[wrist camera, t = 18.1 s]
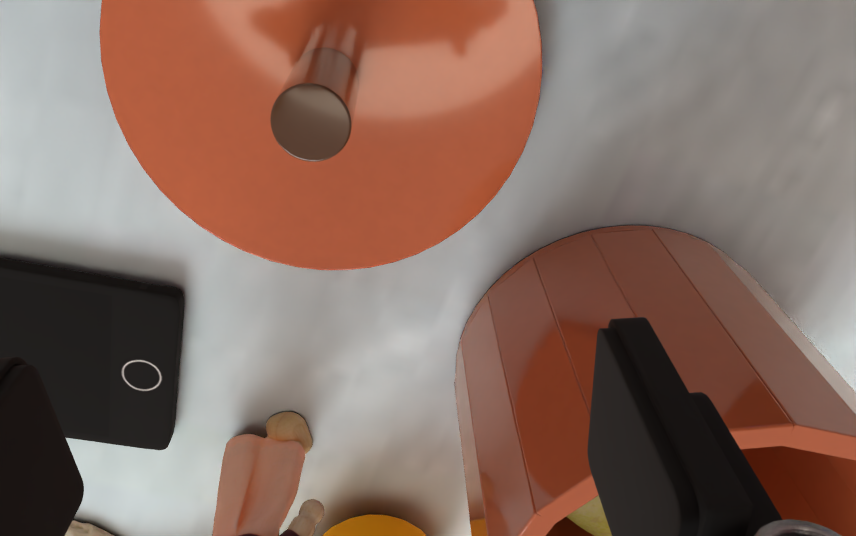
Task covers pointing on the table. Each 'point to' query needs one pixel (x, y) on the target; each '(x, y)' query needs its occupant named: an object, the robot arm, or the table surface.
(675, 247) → the pot
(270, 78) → the lid
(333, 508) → the table surface
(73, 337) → the cell phone
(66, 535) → the fossil
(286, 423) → the grandmother figurine
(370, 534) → the apple
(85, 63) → the table surface
